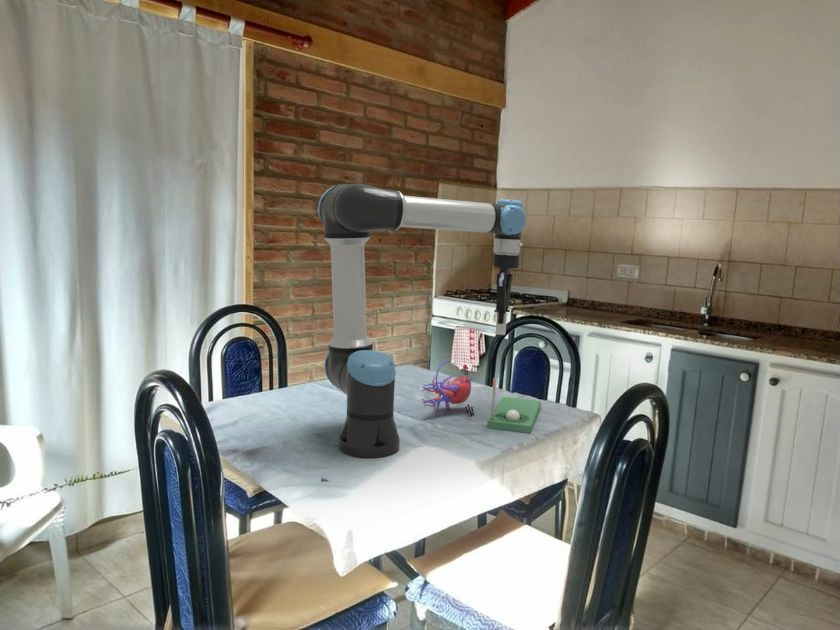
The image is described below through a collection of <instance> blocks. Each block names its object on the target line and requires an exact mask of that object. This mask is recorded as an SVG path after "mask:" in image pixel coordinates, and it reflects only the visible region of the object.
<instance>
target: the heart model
mask: <svg viewBox="0 0 840 630" xmlns="http://www.w3.org/2000/svg"><path fill="white" fill-rule="evenodd" d="M447 363H450V360H446V361H444V362H442V363H441V364H440V365H439V366H438V368H437V370H436V374H435V376H434V377H433V379H432V383H429V384H423V386H422V392H424V391H428V392H430V393H435V394H436V395H438V397H435V398H431V399H428V400H426V399H424V398H422V399H420V400H421V401H423V402H422V403H423V404H424V405H423V406H424V407H425V406H427V407H431V408H433V410H434V411H433V412H434V414H435V415H437V418H440V414H439V407H440V405H441V402H444V404H445V408H446V410H450V409H451V408H450V403H451V404H453V405H456V404H458V405H459V404H462V403H464V402H467V401H468V398H469V396H470V394H471V392H472V381H471V380H472V379H470V377H468V376H467V375H469V372H468V371H469V367H467V364H466V365H464V367H463V368H461V373H462V372H463V374H464V376H459V377H456V378H454V379H453V380H451V381H450V379H452V378H453V376H448V377H446V378H444V379H443V380H441V381H438V377H439V371H440V369H441V367H442V366H443V365H445V364H447ZM445 383H446V384H445ZM427 386H428V387H427ZM429 404H430V405H429ZM465 411H466V414H467V415H470V416H469V417H473V416H474V415H475V412H474V408H473V406H472V405H471V406H470V404H469V403H468V404H466V406H465Z"/></svg>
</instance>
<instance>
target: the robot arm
mask: <svg viewBox="0 0 840 630" xmlns="http://www.w3.org/2000/svg"><path fill="white" fill-rule="evenodd" d="M317 213H318V217H319V219H320V221H321V223H322V224H323V231H324V233H323V234H324V235H323V238H324V240H325V241H326V242H327V243H328V244H329V245H330V264H331V265H330V266H331V286H332V287H331V290H332V291H331V292H332V293H331V294H332V295H331V296H332V316H333V317H332V320H333V337H332V338H331V339H330V340H329V341H328V353H326V356H325V359H324V363H323V364H324V366H323V368H324V372H325V373H324V374H325V376H326V378H327V379H328V381H329V382H330V383H331V385H332V386H334V387H335V388H336V389H338V390H340V391H341V392H343V393H344V394H345V395H346V418H345V421H344V423H343V426H342V429H341V432H340V434H339V439H338V449H339V450H340V451H341V453H345V454H347V455H349V456H353V457H359V458H381V457H382V458H383V457H387V456H390V455H393V454H395V453H396V452H398V451H399V449H400V446H401V445H400V438H401V437H400V435H399V432H398V429H397V428H398V427H397V424H396V422H395V417H394V410H395V408H394V406H395V405H394V404H395V385H396V384H395V383H396V365H395V361H394V359H393V357H392V356H390V355H389V354H387V353H385V352H380V351H378V350H374V343H373V342H374V341H373V340H372V339H371V338H370V337H369V336H368V333H367V328H368V327H367V306H366V305H367V301H366V300H367V299H366V297H367V296H366V260H365V259H366V258H365V244H366V243H367V242H368V241H369V240H370V239H371V232H375V231H377V232H378V231H379V232H380V231H398V230H399V229H401V228H414V229H426V230H427V229H428V230H442V231H443V230H444V231H457V232H459V231H460V232H470V233H472V232H474V233H488V234H494V242H493V252H494V254H493V255H492V267H495V268H499V273H496V282H495V283H496V294H495V295H496V298H495V299H496V302H495V309H494V313H496V323H495V324H496V325H495V335H499V336H500V335H501V336H505V335H506V331H507V330H506V329H507V319H508V318H507V317H508V313H510V312H511V309H510V308H509V307H510V306H509V305H510V297H511V288H512V281H513V278H514V277H513V275H514V274H512V269H513V270H514V269H518V268H520V256H519V255H518V254H520V250H521V247H523V243H521V238H522V231H523V230H524V228H525V226H526V223H527V216H526V212H525V210H524V203H523V201H521V200H517V199H505V198H504V199H499V200H497V202H496V203H489V202H477V201H467V200H458V199H457V200H456V199H455V200H454V199H447V198H446V199H444V198H433V197H424V196H423V197H422V196H413V195H405V194H404V195H403V194H402V192H401V191H399V190H396V189H395V190H393V189H387V188H382V187H378V186H372V185H369V184H364V183H350V184H345V183H342V184H337V185H334V186H331V187H330V188H328V189H327V190H325V192H324V193H323V194H322V195H321V197H320V199H319V201H318V206H317Z"/></svg>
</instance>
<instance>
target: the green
mask: <svg viewBox="0 0 840 630" xmlns="http://www.w3.org/2000/svg"><path fill="white" fill-rule="evenodd" d="M496 392H497V377H493V380H492V396H491V397H492V400H491V414H490V416H489V417H488V419H487V423H486V428H487V429H492V428H495V429H494V430H500V429H503V431H507V432H508V431H510V432H515V433H516V432H517V433H525V434H532V430H533V428H534V425H535V423H536V420H537V418H538V415H539V412H540V410H541V403H542V401H541V400H536V399H535V400H534V399H528V398H527V399H526V398H518V397H508V396H507V397H506V396H502V397H501V398H500V400H499V402H498V403H497V405H496ZM510 410H516V411H517V412H518V413H519V414H520V420H507V419H506V414H507V412H508V411H510Z"/></svg>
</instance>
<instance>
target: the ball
mask: <svg viewBox="0 0 840 630" xmlns="http://www.w3.org/2000/svg"><path fill="white" fill-rule="evenodd" d="M506 419H507V420H520V414H519V413H518V412H517V411H516V410H510V411H508V412H507V414H506Z"/></svg>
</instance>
